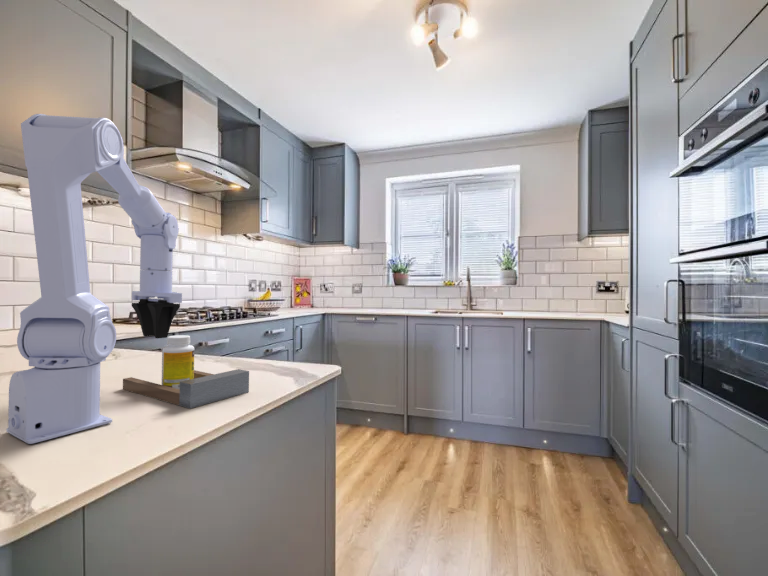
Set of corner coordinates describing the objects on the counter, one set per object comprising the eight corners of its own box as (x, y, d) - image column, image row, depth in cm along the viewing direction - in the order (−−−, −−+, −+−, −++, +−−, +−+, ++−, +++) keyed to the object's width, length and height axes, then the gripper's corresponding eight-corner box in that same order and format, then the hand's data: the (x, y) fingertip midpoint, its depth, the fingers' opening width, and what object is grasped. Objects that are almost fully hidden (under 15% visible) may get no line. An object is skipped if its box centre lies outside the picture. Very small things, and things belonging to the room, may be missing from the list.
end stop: (190, 408, 63) (190, 384, 63) (179, 405, 65) (179, 381, 65) (248, 391, 74) (249, 371, 74) (238, 389, 75) (238, 369, 75)
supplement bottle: (197, 389, 75) (198, 337, 75) (164, 394, 71) (165, 339, 71) (190, 383, 79) (190, 333, 79) (159, 387, 75) (159, 335, 75)
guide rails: (179, 405, 65) (179, 393, 65) (122, 389, 74) (122, 378, 74) (238, 389, 75) (238, 379, 75) (182, 376, 84) (182, 367, 84)
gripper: (196, 271, 79) (195, 337, 79) (155, 271, 86) (154, 332, 86) (162, 269, 73) (160, 341, 73) (121, 270, 80) (120, 335, 80)
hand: (155, 336), depth 79 cm, fingers open, 4 cm apart
